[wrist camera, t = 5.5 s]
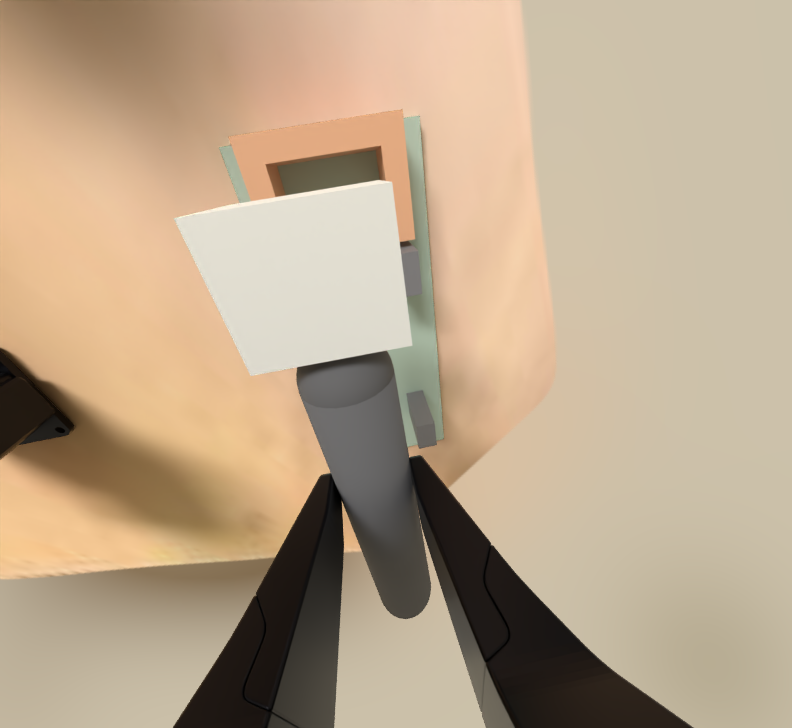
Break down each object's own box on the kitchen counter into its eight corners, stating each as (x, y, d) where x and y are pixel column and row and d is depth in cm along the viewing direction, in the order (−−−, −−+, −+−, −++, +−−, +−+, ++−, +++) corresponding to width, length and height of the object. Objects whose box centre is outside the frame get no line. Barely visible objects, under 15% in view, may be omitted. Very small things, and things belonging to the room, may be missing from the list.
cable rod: (373, 575, 16) (377, 634, 14) (229, 205, 6) (173, 218, 4) (434, 562, 16) (446, 619, 14) (378, 180, 6) (391, 182, 4)
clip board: (336, 457, 25) (335, 500, 22) (222, 148, 14) (183, 138, 10) (442, 434, 25) (457, 474, 22) (417, 117, 14) (440, 98, 11)
